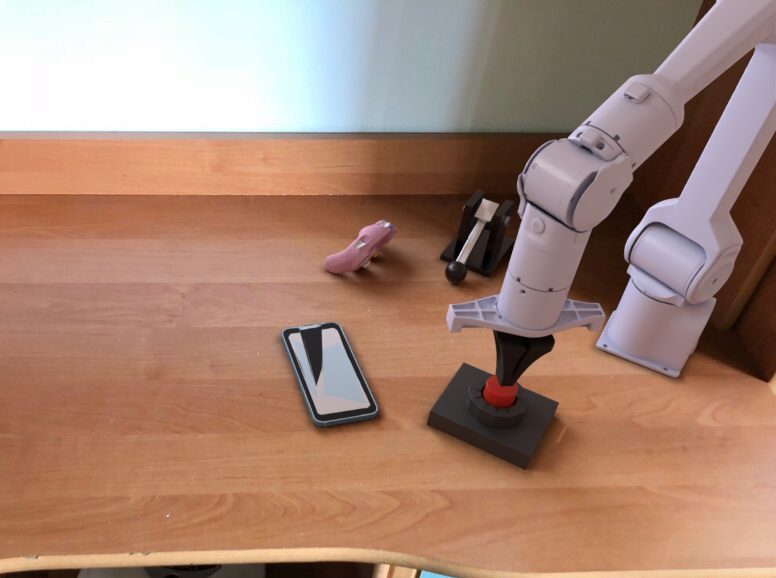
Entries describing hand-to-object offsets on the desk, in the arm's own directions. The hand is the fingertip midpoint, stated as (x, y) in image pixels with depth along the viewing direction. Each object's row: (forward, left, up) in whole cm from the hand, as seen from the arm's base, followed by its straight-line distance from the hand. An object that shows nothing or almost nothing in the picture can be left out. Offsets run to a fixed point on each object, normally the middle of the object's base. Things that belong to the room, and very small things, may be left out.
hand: (504, 379), depth 81 cm
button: (0, 0, -3) cm, 3 cm away
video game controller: (+25, -17, -6) cm, 31 cm away
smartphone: (+18, +4, -6) cm, 19 cm away
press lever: (+13, -25, -4) cm, 28 cm away
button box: (0, 0, -6) cm, 6 cm away
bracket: (+13, -28, -6) cm, 32 cm away
